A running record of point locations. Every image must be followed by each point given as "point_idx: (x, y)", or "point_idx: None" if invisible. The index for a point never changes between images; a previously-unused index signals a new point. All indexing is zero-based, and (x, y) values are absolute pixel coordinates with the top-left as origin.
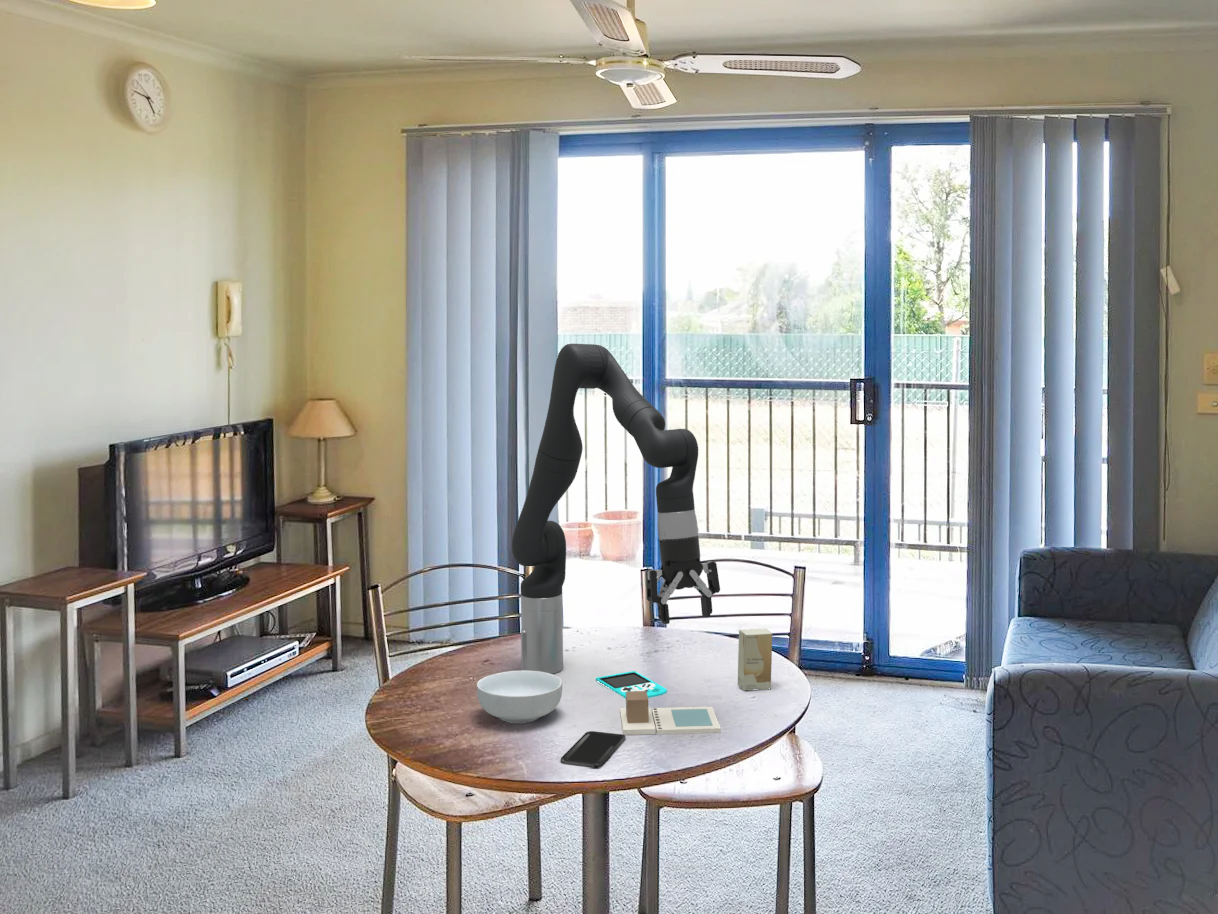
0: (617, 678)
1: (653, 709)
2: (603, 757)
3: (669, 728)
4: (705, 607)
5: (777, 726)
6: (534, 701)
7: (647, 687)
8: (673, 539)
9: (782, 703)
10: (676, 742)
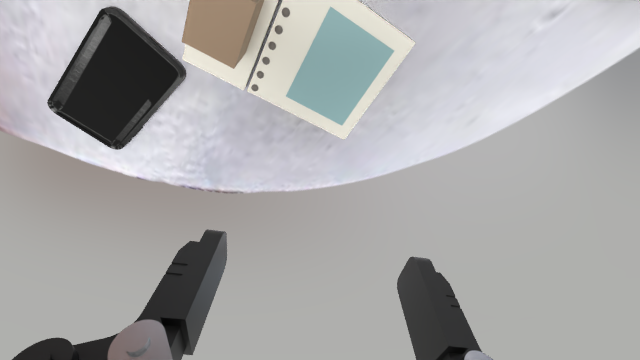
0: None
1: None
2: (127, 130)
3: (271, 97)
4: (410, 318)
5: (429, 155)
6: None
7: None
8: None
9: (541, 83)
10: (264, 128)
